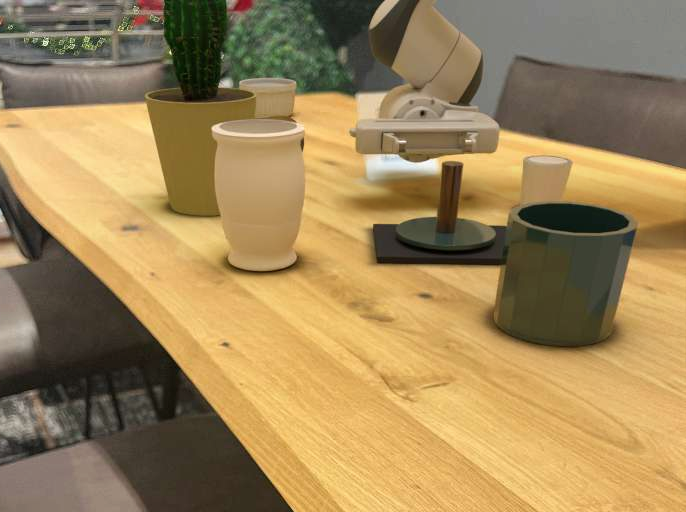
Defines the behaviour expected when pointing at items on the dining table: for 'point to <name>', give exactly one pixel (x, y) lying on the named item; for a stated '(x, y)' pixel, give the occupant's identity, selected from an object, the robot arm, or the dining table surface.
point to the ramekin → (271, 95)
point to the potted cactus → (194, 104)
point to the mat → (402, 252)
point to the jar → (260, 190)
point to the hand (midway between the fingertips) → (435, 147)
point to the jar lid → (447, 219)
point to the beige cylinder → (544, 178)
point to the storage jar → (563, 272)
